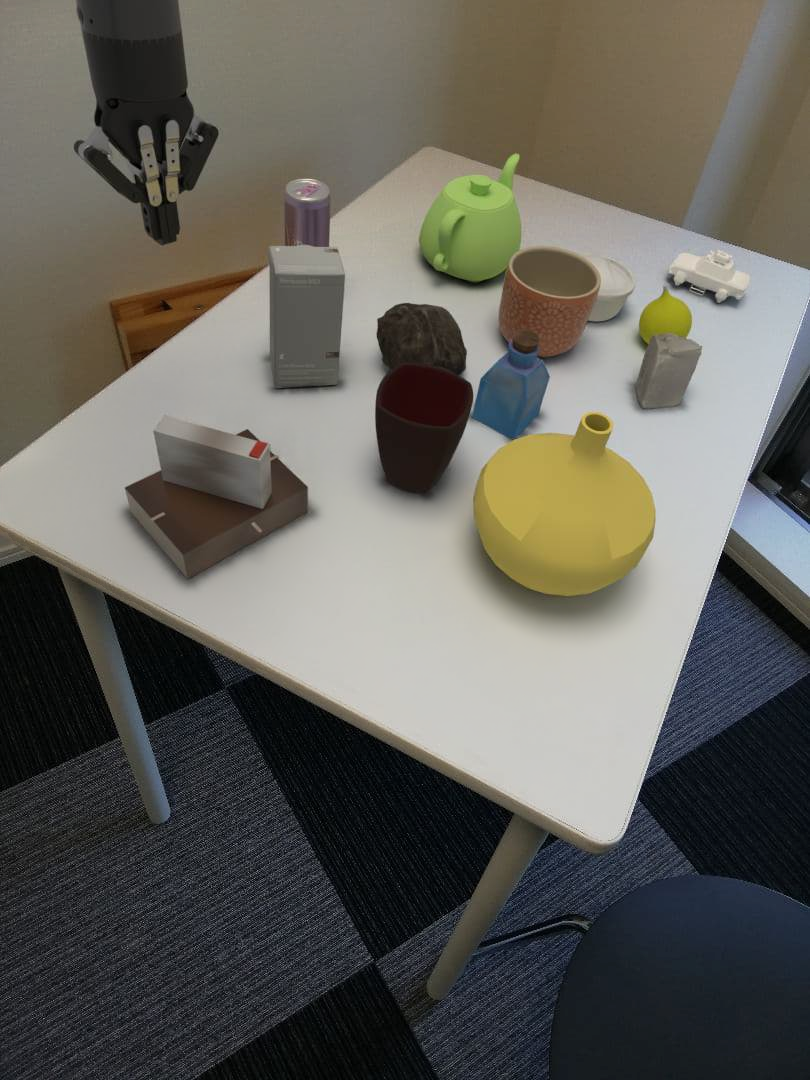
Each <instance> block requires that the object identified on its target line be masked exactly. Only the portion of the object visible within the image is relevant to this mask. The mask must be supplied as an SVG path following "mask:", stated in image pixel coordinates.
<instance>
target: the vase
mask: <svg viewBox="0 0 810 1080" xmlns="http://www.w3.org/2000/svg"><path fill="white" fill-rule="evenodd" d="M613 429H614V422H613V420H612V418H610V416H608V415H606V414H604V413H602V412H598V411H588V412H586V413H584V414H583V415H582V416H581V419H580V421H579V424H578V426H577V429H576V432H575V433H574V434H568V433H567V434H566V433H565V434H564V433H556V432H545V433H543V432H542V433H532V434H528V435H525V436H521V437H518V438H515V439H514V440H511V441H509V442H508V443H507V444H504V445H502V446H501V447H500V448H498V450H497V451H495V453H493V455H492V456H491V458H490V459H489V460H488V461H487V462H486V463H485V464H484V466H483V467H482V468H481V469H480V473H479V476H478V478H477V481H476V484H475V489H474V493H473V497H472V508H473V509H472V510H473V511H472V514H473V519H474V522H475V525H476V527H477V528H476V529H477V531H478V534H479V537H480V539H481V543H482V545H483V548H484V551H485V552H486V554H487V555H488V556H489V558H490V559H491V560H492V562H493V563H494V565H495V566H496V567H497V568H499V569H500V570H501V571H502V572H503V573H504V574H505V575H507V576H508V578H510V579H511V580H513V581H514V582H516V583H518V584H520V585H521V586H524V587H525V588H527V589H529V590H532V591H535V592H538V593H541V594H545V595H555V596H565V597H572V596H580V595H581V596H582V595H589V594H591V593H594V592H597V591H598V590H601V589H603V588H606V587H607V586H609V585H611V584H613V583H615V582H617V581H619V580H621V579H623V578H624V577H625V576H627V575H628V574H629V573H630V572H631V571H633V569H635V568H636V567H637V566H638V565H639V563H640V561H641V560H642V558H643V556H644V555H645V553H646V551H647V549H648V548H649V546H650V545H651V542H652V540H653V539H654V536H655V535H654V534H655V527H656V507H655V502H654V498H653V492H652V491H651V490H650V488H649V486H648V484H647V483H646V481H645V478H644V477H643V476H642V475H641V473H640V472H639V471H638V470H637V469H636V468H635V467H634V466H633V464H631V463H630V461H628V460H627V459H625V458H623V456H621V455H620V454H618V453H617V452H616V451H614V450H613V449H610V448H609V447H607V445H608V444H607V443H608V441H609V439H610V436H611V434H612V432H613Z"/></svg>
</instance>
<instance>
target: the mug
mask: <svg viewBox="0 0 810 1080" xmlns="http://www.w3.org/2000/svg"><path fill="white" fill-rule="evenodd" d="M473 402H474V389H473V385H472V383H471V382H470V381H469V380H467V379H466V378H464V377H462V376H460V375H459V376H458V375H456V374H454V373H453V372H451V371H450V370H448V369H446V368H444V367H437V366H430V365H425V364H418V363H401V364H399V365H398V366H396V367H395V368H393V369H390V370H389V371H388V372H387V373H386V374H385V375H384V376H383V378H382V379H381V380H380V382H379V385H378V387H377V390H376V394H375V403H374V404H375V406H374V407H375V409H374V423H375V435H376V442H377V449H378V455H379V456H378V457H379V460H380V465H381V468H382V471H383V474H384V477H385V479H386V482H387V483H389V484H391V485H392V486H394V487H396V488H398V489H400V490H403V491H406V492H409V493H414V494H427V493H429V492H430V491H432V489H434V488H435V486H436V485H437V484H438V482H439V480H441V478H442V476H443V475H444V473H445V471H446V470H447V468H448V466H449V465H450V463H451V461H452V459H453V456H454V455H455V452H456V450H457V449H458V446H459V444H460V443H461V440H462V437H463V435H464V433H465V430H466V428H467V425H468V421H469V420H470V419H469V418H470V416H471V415H470V414H471V412H472V407H473Z"/></svg>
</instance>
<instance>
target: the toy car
mask: <svg viewBox="0 0 810 1080" xmlns="http://www.w3.org/2000/svg"><path fill="white" fill-rule="evenodd" d="M733 257H734V255H731V253H728V252H725V251H724V250H722V249H716V251H713V250H710V251H709V252H708V253H707V254H706V255H702V256H699V255H695V254H692V253H689V252H681V253H679V254H678V256H676V259H675V260H674V261H672V263H671V265H670V267H669V269H668V270H667V272H668V274H670V275H673V282H674V284H675V286H680V285H682V284H683V283H684V282H688V283H690V284H691V286H690V288H689V292H692V293H694V294H697V295H699V296H704V295H705V292H706V291H707V290H709V291H712V292H715V298H714V299H715V300H716V303H718V304H719V303H720V304H721V302H723V303H724V302H725V300H727V298H729V297H734V298H735V299H736V300H741V299H742V298H743V297H744V295H745V294H746V292H747V290H748V288H749V283H750V281H751V275H749V274H747V273H745V272H742V271H740V270H737V269H736V267H735V262H734V260H733ZM693 286H695V287H693ZM691 289H693V290H695V291H696V292H695V291H693V290H691ZM698 292H700V293H698ZM701 293H702V294H701Z"/></svg>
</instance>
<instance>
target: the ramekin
mask: <svg viewBox="0 0 810 1080" xmlns="http://www.w3.org/2000/svg"><path fill="white" fill-rule="evenodd" d="M577 254H578V255H580V256H582V257H584V258H585V259H587V260H588V261H589V262H591V263H592V264H593V265H594V266H595V267H596V269H597V270H598V272H599V274H600V277H601V285H600V289H599V292H598V295H597V298H596V300H595V303H594V306H593V308H592V311H591V313H590V315H589V318H588V320H587V322H594V323H595V322H604V321H605V322H606V321H608V320H610V319H612V318H614V317H615V316H617V315H618V314H619V312H620V311H621V309H622V308H623V306H624V305H625V303H626V302H627V299H628V298H629V297H630V296H631V295H632V294H633V292H634V290H635V287H636V279H635V276H634V275H633V273H632V271H630V269H629V268H628V267H626V266H625V265H624V264H623V263H621V262H619V261H618V260H615V259H614V258H611V257H609V256H605V255H603V254H597V253H591V252H582V253H581V252H580V253H577Z"/></svg>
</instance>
